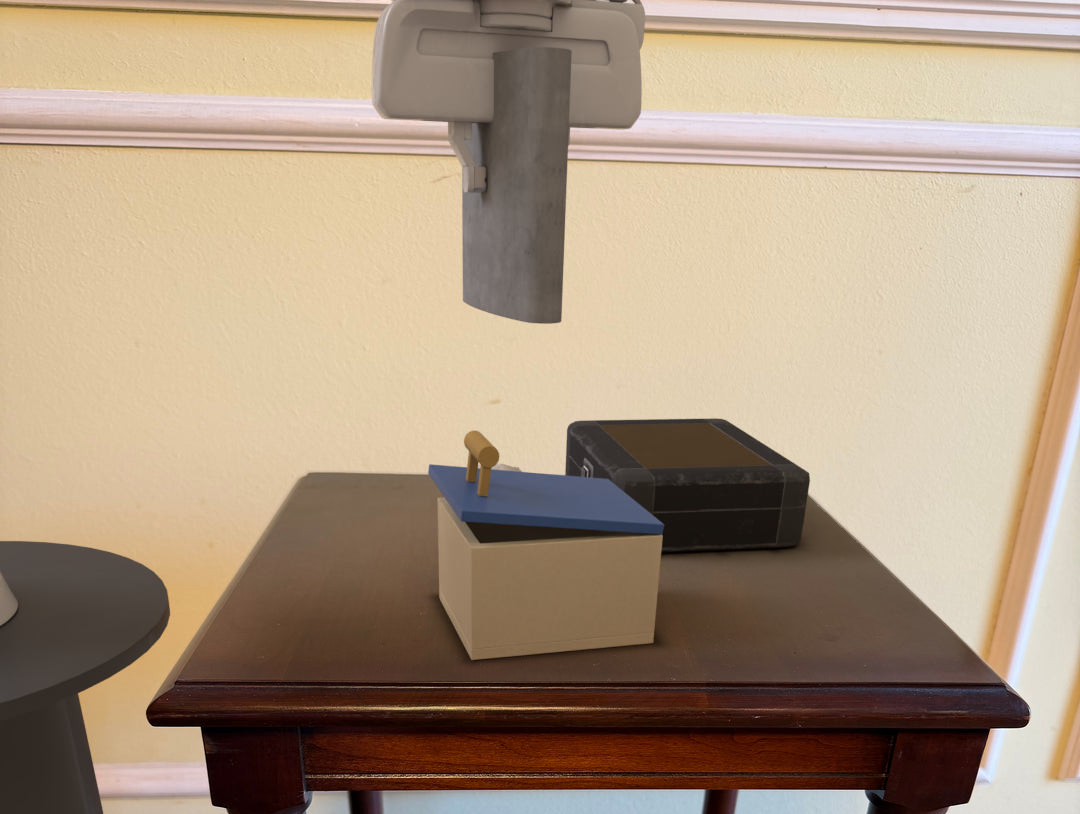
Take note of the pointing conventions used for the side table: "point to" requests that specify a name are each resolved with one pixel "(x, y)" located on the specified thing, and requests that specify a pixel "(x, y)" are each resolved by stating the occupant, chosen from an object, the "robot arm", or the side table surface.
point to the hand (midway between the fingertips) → (507, 193)
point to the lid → (536, 496)
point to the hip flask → (520, 190)
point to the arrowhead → (504, 467)
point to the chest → (545, 586)
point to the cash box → (696, 480)
